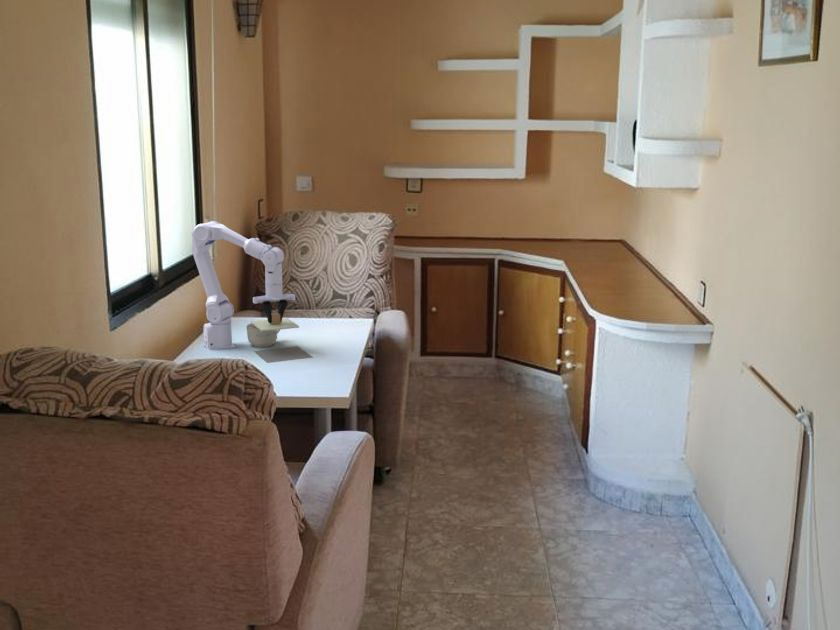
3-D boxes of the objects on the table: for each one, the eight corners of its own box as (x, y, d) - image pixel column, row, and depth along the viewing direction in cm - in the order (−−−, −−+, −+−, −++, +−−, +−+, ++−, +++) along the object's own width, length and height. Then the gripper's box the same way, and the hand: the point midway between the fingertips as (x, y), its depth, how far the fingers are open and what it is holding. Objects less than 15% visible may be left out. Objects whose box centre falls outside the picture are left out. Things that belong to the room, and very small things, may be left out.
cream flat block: (262, 331, 284) (261, 319, 283) (251, 323, 295) (251, 311, 294) (299, 327, 289) (298, 315, 288) (287, 319, 301) (286, 308, 300)
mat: (267, 363, 278) (267, 362, 278) (253, 352, 292) (253, 351, 292) (313, 358, 285) (313, 357, 285) (297, 347, 299) (297, 346, 299)
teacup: (256, 351, 294) (255, 328, 292) (241, 344, 302) (240, 323, 300) (290, 344, 303) (290, 323, 301) (275, 338, 311) (275, 317, 309)
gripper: (256, 287, 282) (257, 326, 285) (297, 283, 289) (298, 322, 292) (250, 283, 288) (251, 322, 291) (291, 280, 295) (292, 318, 298)
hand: (274, 322), depth 292 cm, fingers closed on cream flat block, 3 cm apart
